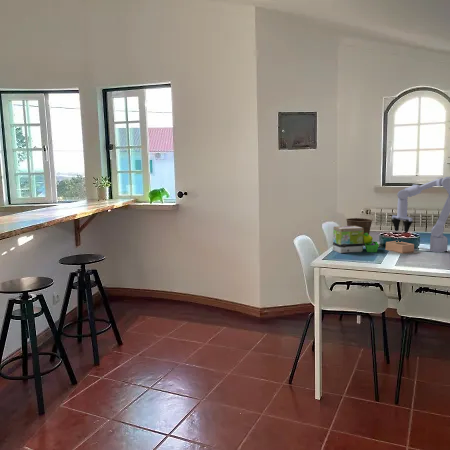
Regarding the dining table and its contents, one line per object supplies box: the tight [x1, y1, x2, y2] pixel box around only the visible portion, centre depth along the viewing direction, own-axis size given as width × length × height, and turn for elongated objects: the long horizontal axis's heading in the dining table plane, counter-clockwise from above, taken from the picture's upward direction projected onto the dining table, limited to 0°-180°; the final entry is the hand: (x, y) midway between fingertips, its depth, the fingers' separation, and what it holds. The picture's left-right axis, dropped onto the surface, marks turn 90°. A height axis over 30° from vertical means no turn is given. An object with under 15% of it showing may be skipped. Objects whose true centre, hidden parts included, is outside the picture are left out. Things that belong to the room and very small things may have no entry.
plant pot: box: [345, 217, 373, 247], centre depth 297 cm, size 16×16×16 cm
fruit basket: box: [363, 233, 380, 253], centre depth 275 cm, size 11×9×11 cm
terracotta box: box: [385, 240, 415, 255], centre depth 273 cm, size 9×13×5 cm
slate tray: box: [383, 248, 421, 256], centre depth 273 cm, size 12×17×1 cm
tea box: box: [332, 225, 364, 254], centre depth 277 cm, size 15×10×15 cm
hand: (401, 231), depth 282 cm, fingers open, 7 cm apart
